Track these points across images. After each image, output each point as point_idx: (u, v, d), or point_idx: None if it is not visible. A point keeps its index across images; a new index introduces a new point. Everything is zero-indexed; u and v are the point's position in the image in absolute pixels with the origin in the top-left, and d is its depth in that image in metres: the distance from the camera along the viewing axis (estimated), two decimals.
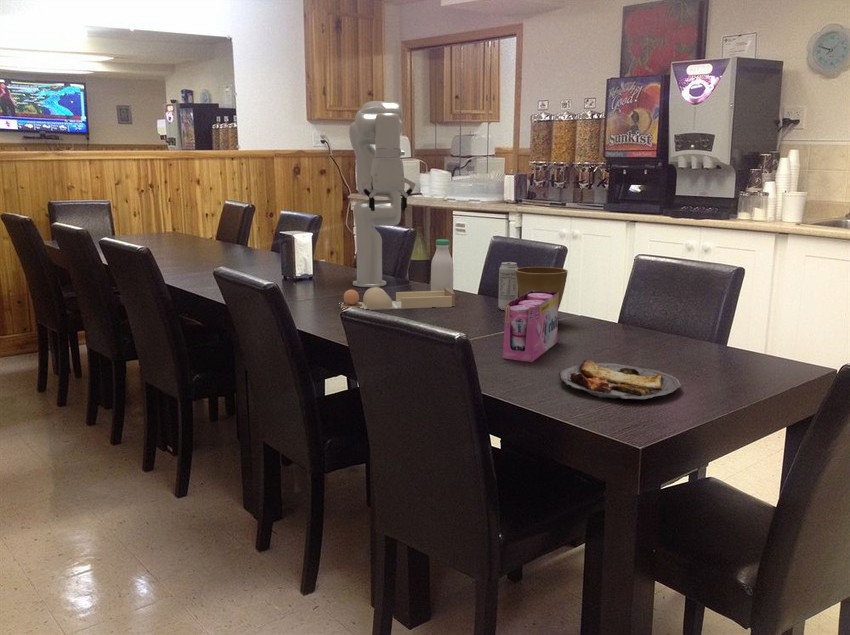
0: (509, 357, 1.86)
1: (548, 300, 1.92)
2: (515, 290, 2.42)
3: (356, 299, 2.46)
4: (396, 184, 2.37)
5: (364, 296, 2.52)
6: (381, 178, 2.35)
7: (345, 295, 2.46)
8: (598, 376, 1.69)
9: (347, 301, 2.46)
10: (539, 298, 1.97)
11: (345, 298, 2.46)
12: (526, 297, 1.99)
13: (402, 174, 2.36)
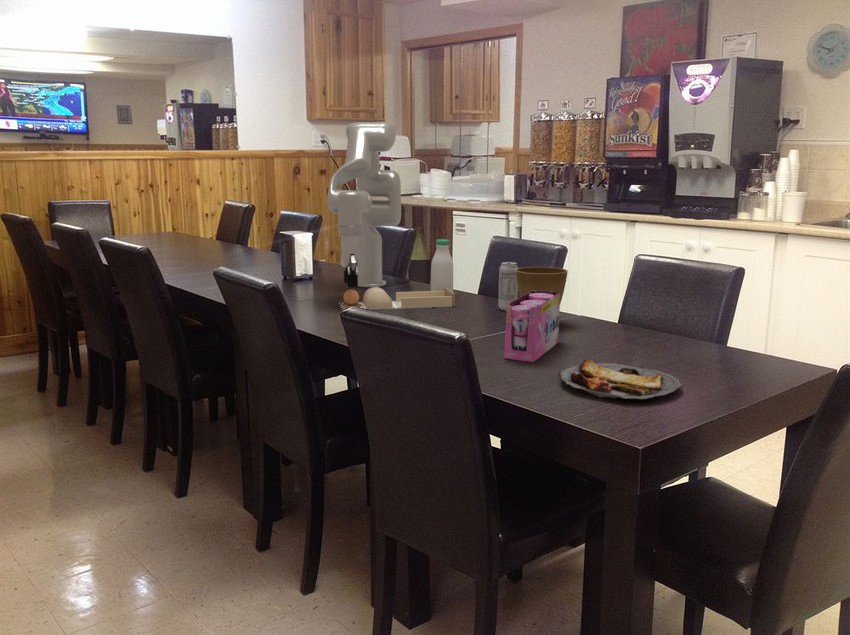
0: (510, 357, 1.86)
1: (549, 300, 1.92)
2: (515, 290, 2.42)
3: (356, 299, 2.46)
4: None
5: (364, 296, 2.52)
6: None
7: (345, 295, 2.46)
8: (598, 376, 1.69)
9: (347, 301, 2.46)
10: (540, 298, 1.97)
11: (345, 298, 2.46)
12: (527, 297, 1.99)
13: None
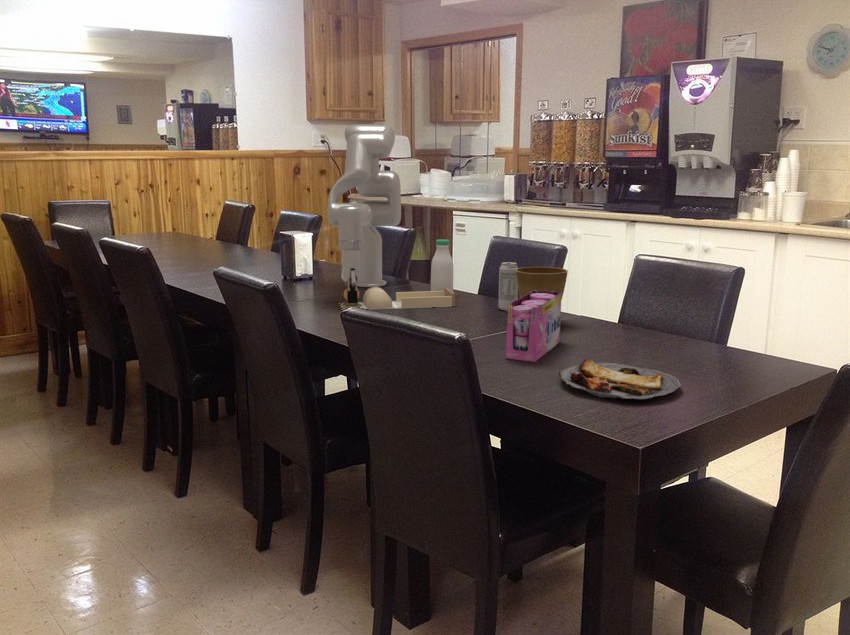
0: (512, 357, 1.86)
1: (551, 300, 1.92)
2: (515, 290, 2.42)
3: None
4: None
5: (364, 296, 2.52)
6: None
7: (345, 292, 2.46)
8: (598, 376, 1.69)
9: None
10: (542, 298, 1.97)
11: (345, 295, 2.46)
12: (529, 297, 1.99)
13: None
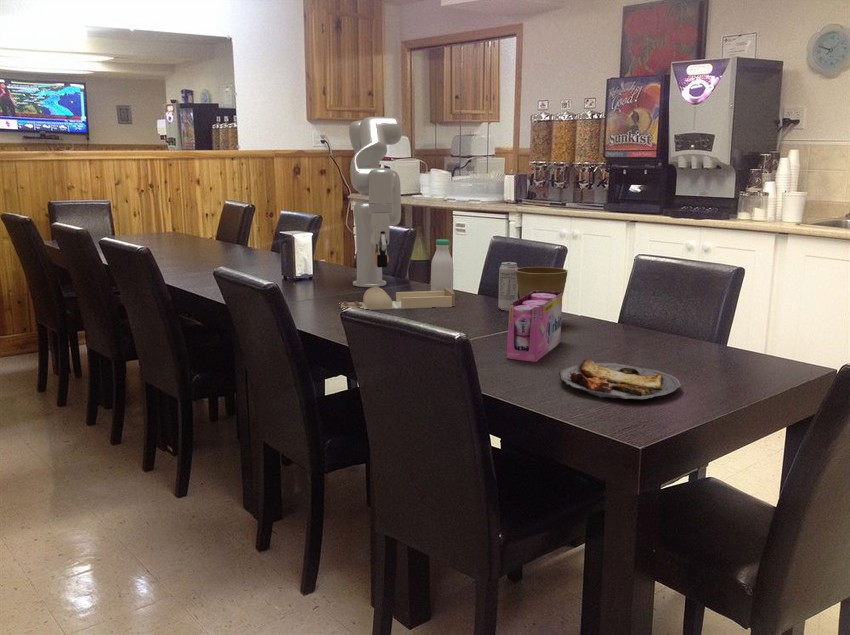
0: (513, 357, 1.86)
1: (552, 300, 1.92)
2: (515, 290, 2.42)
3: None
4: None
5: (364, 296, 2.52)
6: None
7: (375, 256, 2.45)
8: (598, 376, 1.69)
9: None
10: (543, 298, 1.97)
11: (375, 259, 2.45)
12: (530, 297, 1.99)
13: None
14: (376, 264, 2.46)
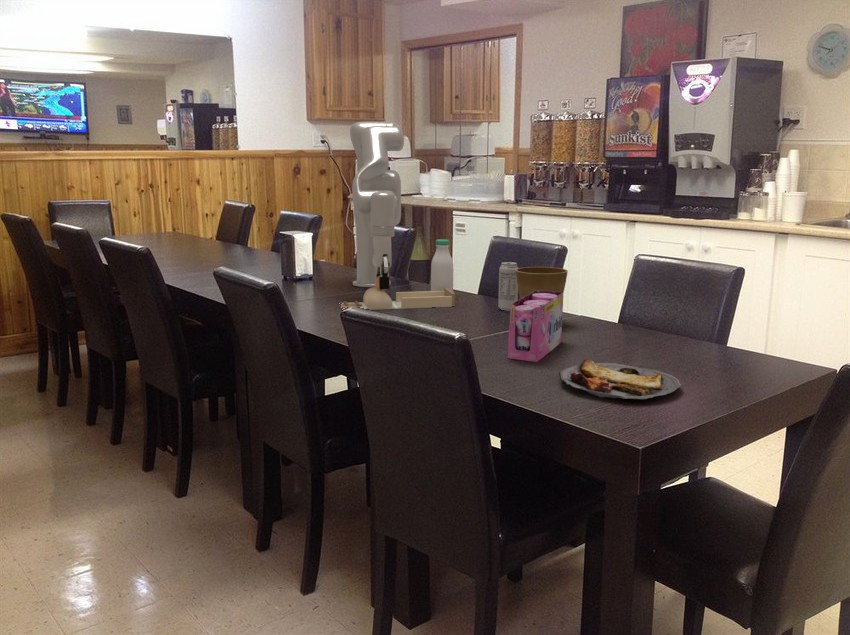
0: (514, 357, 1.86)
1: (553, 300, 1.92)
2: (515, 290, 2.42)
3: None
4: None
5: (364, 296, 2.52)
6: None
7: (377, 280, 2.47)
8: (598, 376, 1.69)
9: None
10: (544, 298, 1.97)
11: (377, 283, 2.47)
12: (531, 297, 1.99)
13: None
14: (378, 288, 2.47)
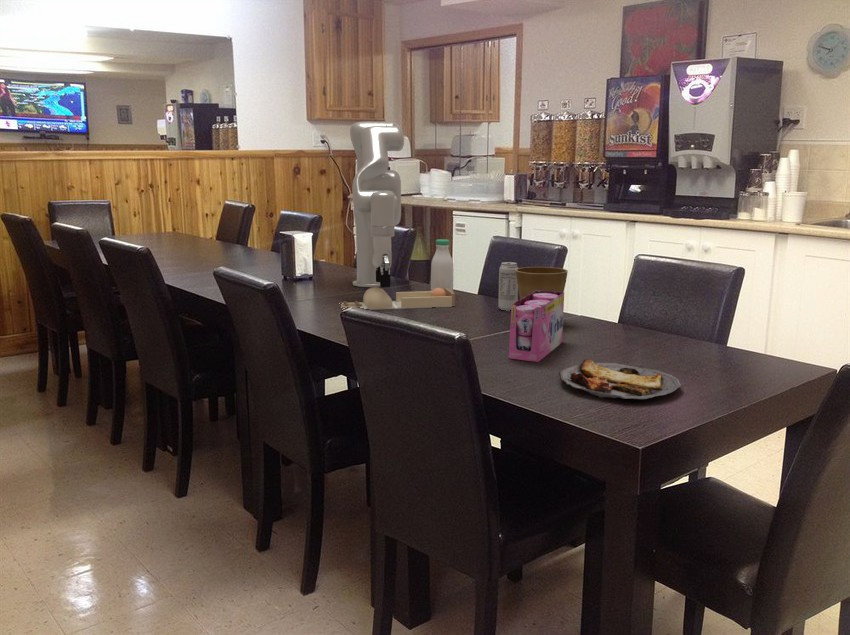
0: (515, 357, 1.86)
1: (554, 300, 1.92)
2: (515, 290, 2.42)
3: None
4: None
5: (364, 296, 2.52)
6: None
7: (443, 291, 2.52)
8: (598, 376, 1.69)
9: (438, 291, 2.51)
10: (544, 298, 1.97)
11: (441, 290, 2.52)
12: (531, 297, 1.99)
13: None
14: (436, 289, 2.51)
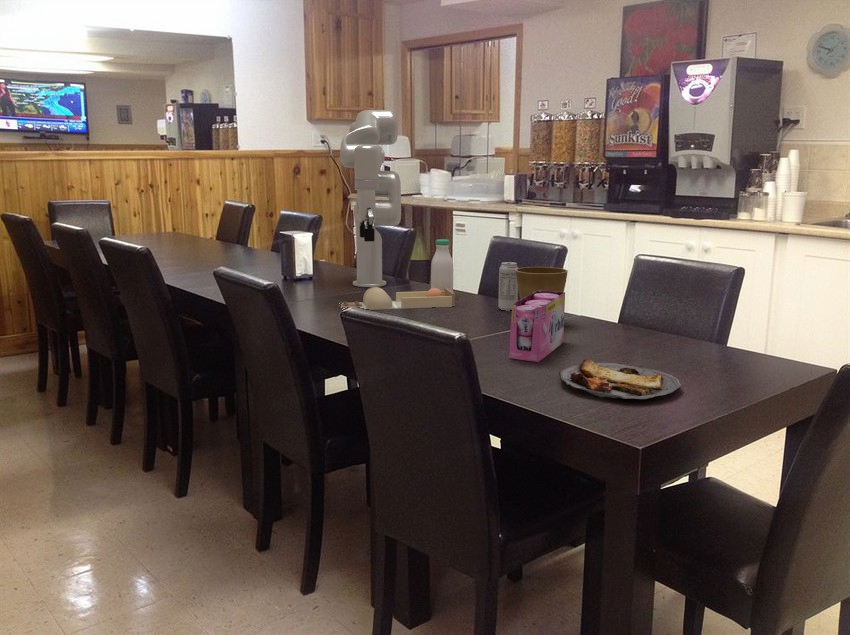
0: (515, 357, 1.86)
1: (554, 300, 1.92)
2: (515, 290, 2.42)
3: None
4: None
5: (364, 296, 2.52)
6: None
7: (436, 289, 2.51)
8: (598, 376, 1.69)
9: (431, 292, 2.51)
10: (545, 298, 1.97)
11: (434, 290, 2.51)
12: (532, 297, 1.99)
13: None
14: (429, 292, 2.51)
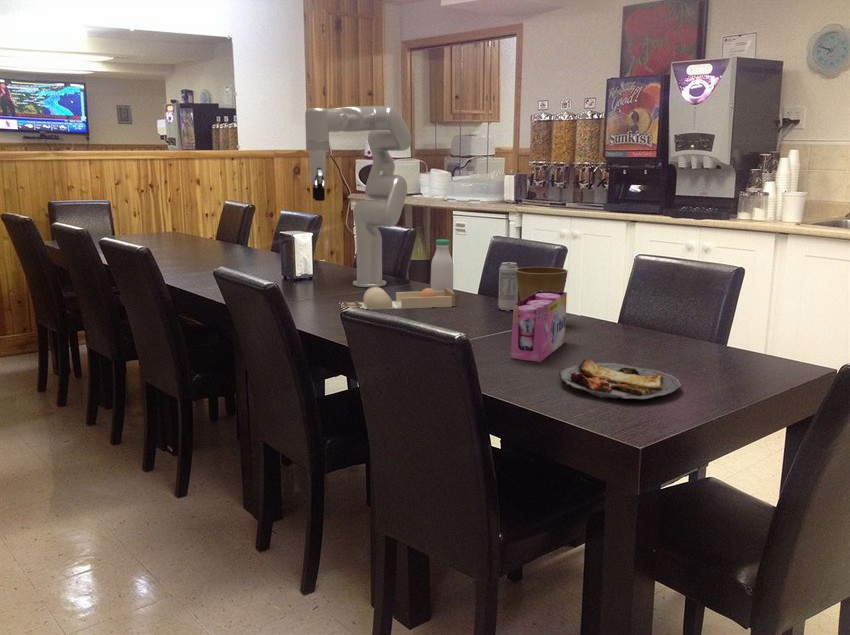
0: (517, 357, 1.86)
1: (556, 300, 1.92)
2: (515, 290, 2.42)
3: None
4: None
5: (364, 296, 2.52)
6: None
7: (424, 291, 2.51)
8: (598, 376, 1.69)
9: None
10: (547, 298, 1.97)
11: (423, 293, 2.51)
12: (534, 297, 1.99)
13: None
14: None
